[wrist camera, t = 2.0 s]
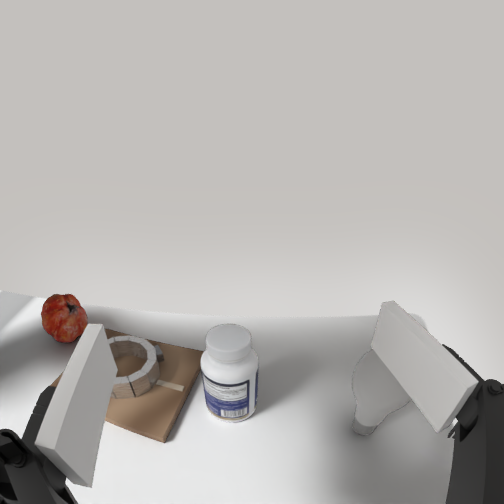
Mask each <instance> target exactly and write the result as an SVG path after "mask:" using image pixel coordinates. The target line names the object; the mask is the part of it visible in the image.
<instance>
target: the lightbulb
mask: <svg viewBox="0 0 504 504" xmlns="http://www.w3.org/2000/svg"><path fill="white" fill-rule="evenodd" d="M352 388H353V392H354V396H355V398H356V400H357V407H356V410H355V418H354V421H353V424H352V427H353V429H354V431H355V432H356V433H358V434H360V435H369V434H371V433H372V432H373V431H374V430H375V428H376V427H377V426H378V425H379V424H380V423H381V422H382V421H383V420H384V419H385V417H386V416H387V415H388V414H389V413H392V412H394V411H396V410H398V409H400V408H401V407H403V406H405V405H406V404H407V403H408V402H409V401H410V400H411V398H410V396H409V395H408V394H407V392H406V391H405V390H404V388H403V387H402V386H401V385H400V383H399V382H398V381H397V379H396V378H395V377H394V375H393V374H392V373H391V372H390V370H389V369H388V368H387V366H386V365H385V364H384V363H383V361H382V360H381V359H380V358H379V356H378V355H377V354H376V352H375V351H374V350H373V349H372V350H370V351H368V352H367V353H366V354H365V355H364V356H363V357H362V358H361V359H360V360H359V362H358V363H357V365H356V367H355V369H354V372H353V375H352Z"/></svg>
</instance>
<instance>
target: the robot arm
mask: <svg viewBox="0 0 504 504" xmlns="http://www.w3.org/2000/svg"><path fill="white" fill-rule="evenodd" d="M371 347H372V349H373V350H374V351H375V352H376V354H377V355H378V356H379V358H380V359H381V360H382V361H383V363H384V364H385V365H386V366H387V368H388V369H389V370H390V372H391V373H392V374H393V375H394V377H395V378H396V379H397V381H398V382H399V383H400V385H401V386H402V387H403V388H404V390H405V391H406V392H407V394H408V395H409V396H410V398H411V399H412V400H413V402H414V403H415V404H416V406H417V407H418V408H419V410H420V411H421V412H422V414H423V415H424V416H425V418H426V419H427V420H428V422H429V423H430V424H431V426H432V427H433V429H434V430H435V431H436V433H438V432H440V431H442V430H444V429H445V428H447V427H449V425H450V424H451V423H452V421H453V420H454V418H455V417H456V418H457V420H458V422H457V423H456V425H455V426H454V427H453V429H452V430H451V431H450V433H449V434H448V437H447V438H450V436H451V435H452V434H453V433H454V431H455V435H454V436H453V437H452V438H454V439H455V440H454V452H453V461H452V469H451V477H450V483H449V489H448V494H447V499H446V504H504V384H501V383H500V382H498V381H497V380H493V379H489V380H486V381H484V380H483V379H482V378H481V377H480V376H479V375H478V374H477V373H476V372H475V371H474V370H473V369H472V368H471V367H470V366H469V365H468V364H467V363H466V362H464V360H463V359H462V358H461V357H459V355H458V354H456V352H455V351H454V350H452V349H451V348H449V347H447V346H445V345H444V344H442V345H441V344H440V343H439V342H438V341H437V340H436V339H435V338H434V337H433V336H432V335H431V334H430V333H429V332H428V331H427V330H425V329H424V328H423V327H422V326H421V325H420V324H419V323H418V322H417V321H416V320H415V319H413V318H412V317H411V316H410V315H409V314H408V313H407V312H406V311H405V310H404V309H402V308H401V307H400V306H399V305H398V304H397V303H396V302H395V301H390V302H384V303H382V306H381V309H380V313H379V317H378V321H377V325H376V329H375V332H374V336H373V339H372V343H371ZM117 371H118V369H117V366H116V364H115V361H114V358H113V355H112V352H111V349H110V346H109V343H108V340H107V336H106V333H105V330H104V326H103V324H88V325H87V327H86V328H85V330H84V332H83V334H82V336H81V338H80V340H79V342H78V344H77V346H76V348H75V350H74V352H73V354H72V356H71V358H70V360H69V362H68V364H67V366H66V368H65V370H64V372H63V374H62V377H61V379H60V381H59V383H58V386H57V387H54V386H48V387H47V388H46V389H45V390H44V391H43V392H42V393H41V394H40V396H39V399H38V401H37V403H36V406H35V408H34V410H33V414H31V417H30V419H29V422H28V424H27V427H26V429H25V432H24V434H23V437H22V439H20V438H19V436H18V435H17V434H16V433H15V432H13V431H12V430H9V429H1V430H0V504H78V503H77V501H76V500H75V498H74V496H73V495H72V493H71V492H70V490H69V488H68V487H67V486H66V484H65V481H66V477H67V478H68V479H69V480H70V481H71V482H72V483H73V484H77V485H81V486H86V487H90V488H92V483H93V477H94V470H95V465H96V459H97V454H98V449H99V444H100V439H101V434H102V430H103V425H104V421H105V417H106V412H107V408H108V404H109V400H110V396H111V393H112V389H113V385H114V381H115V378H116V374H117Z"/></svg>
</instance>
